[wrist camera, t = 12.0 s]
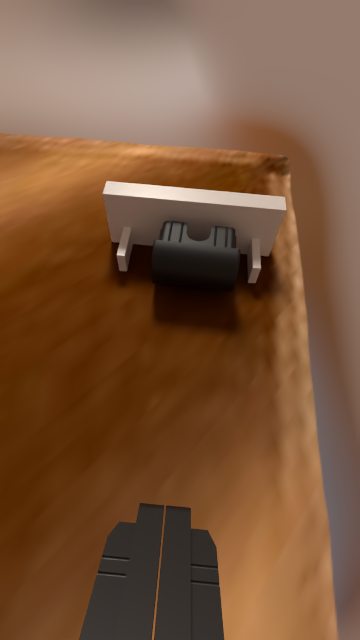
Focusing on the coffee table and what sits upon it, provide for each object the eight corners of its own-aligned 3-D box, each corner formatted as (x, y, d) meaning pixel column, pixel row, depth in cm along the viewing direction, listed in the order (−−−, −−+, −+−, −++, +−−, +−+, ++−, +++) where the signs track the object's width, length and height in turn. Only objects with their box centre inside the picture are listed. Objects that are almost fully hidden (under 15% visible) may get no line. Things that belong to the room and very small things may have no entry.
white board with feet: (104, 269, 45) (93, 222, 38) (114, 229, 48) (106, 181, 42) (270, 284, 44) (289, 240, 38) (267, 243, 48) (284, 197, 41)
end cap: (151, 295, 43) (149, 259, 37) (159, 254, 47) (158, 215, 41) (230, 304, 43) (240, 269, 37) (231, 262, 46) (241, 224, 41)
